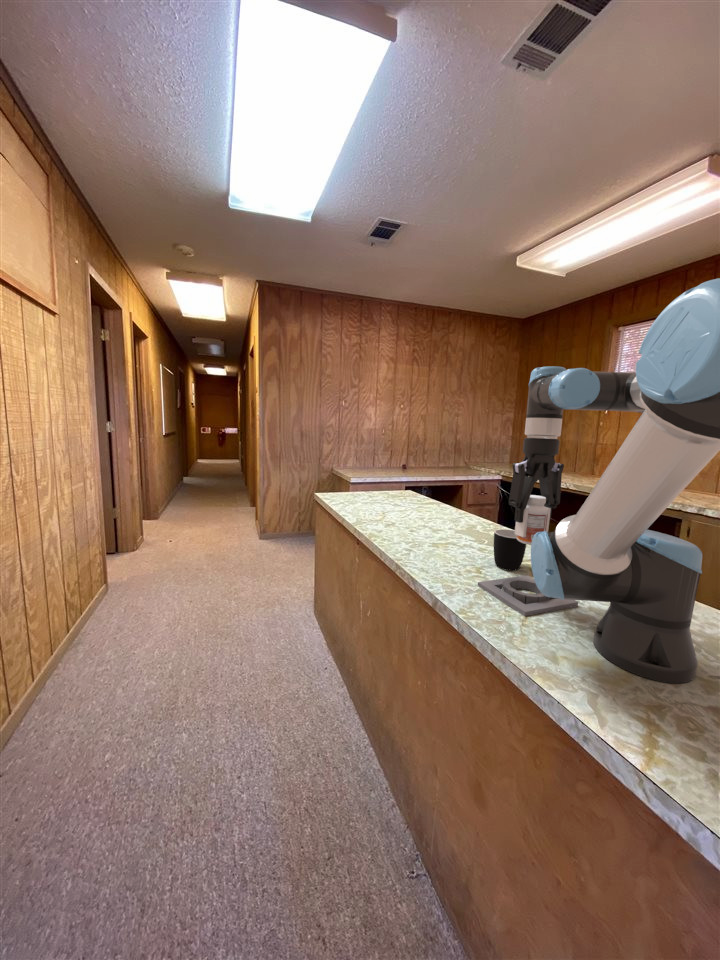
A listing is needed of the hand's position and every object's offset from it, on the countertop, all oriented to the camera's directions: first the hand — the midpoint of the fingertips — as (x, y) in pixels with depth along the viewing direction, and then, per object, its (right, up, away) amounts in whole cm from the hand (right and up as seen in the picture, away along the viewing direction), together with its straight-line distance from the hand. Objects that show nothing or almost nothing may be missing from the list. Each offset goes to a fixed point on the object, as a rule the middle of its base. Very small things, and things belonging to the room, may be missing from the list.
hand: (531, 534), depth 90 cm
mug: (+2, -13, +23) cm, 26 cm away
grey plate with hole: (0, -15, +3) cm, 16 cm away
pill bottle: (0, -2, 0) cm, 2 cm away
